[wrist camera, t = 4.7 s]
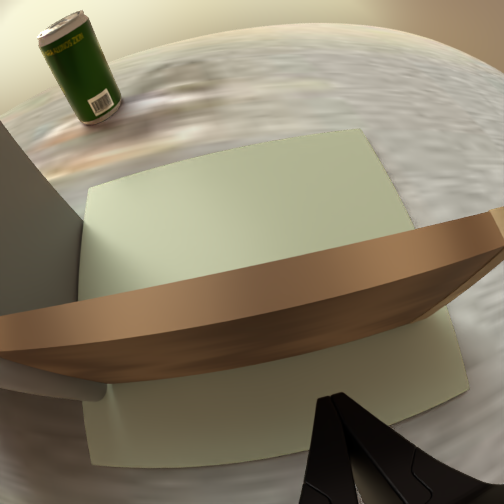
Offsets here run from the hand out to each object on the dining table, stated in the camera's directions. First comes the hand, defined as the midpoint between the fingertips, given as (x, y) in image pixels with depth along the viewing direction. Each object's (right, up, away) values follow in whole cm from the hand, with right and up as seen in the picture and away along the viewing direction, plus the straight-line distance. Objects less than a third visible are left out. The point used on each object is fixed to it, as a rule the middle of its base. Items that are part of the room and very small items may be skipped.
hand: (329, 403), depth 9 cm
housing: (-9, +2, +9) cm, 13 cm away
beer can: (-19, +20, +20) cm, 34 cm away
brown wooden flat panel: (-2, 0, +6) cm, 7 cm away
